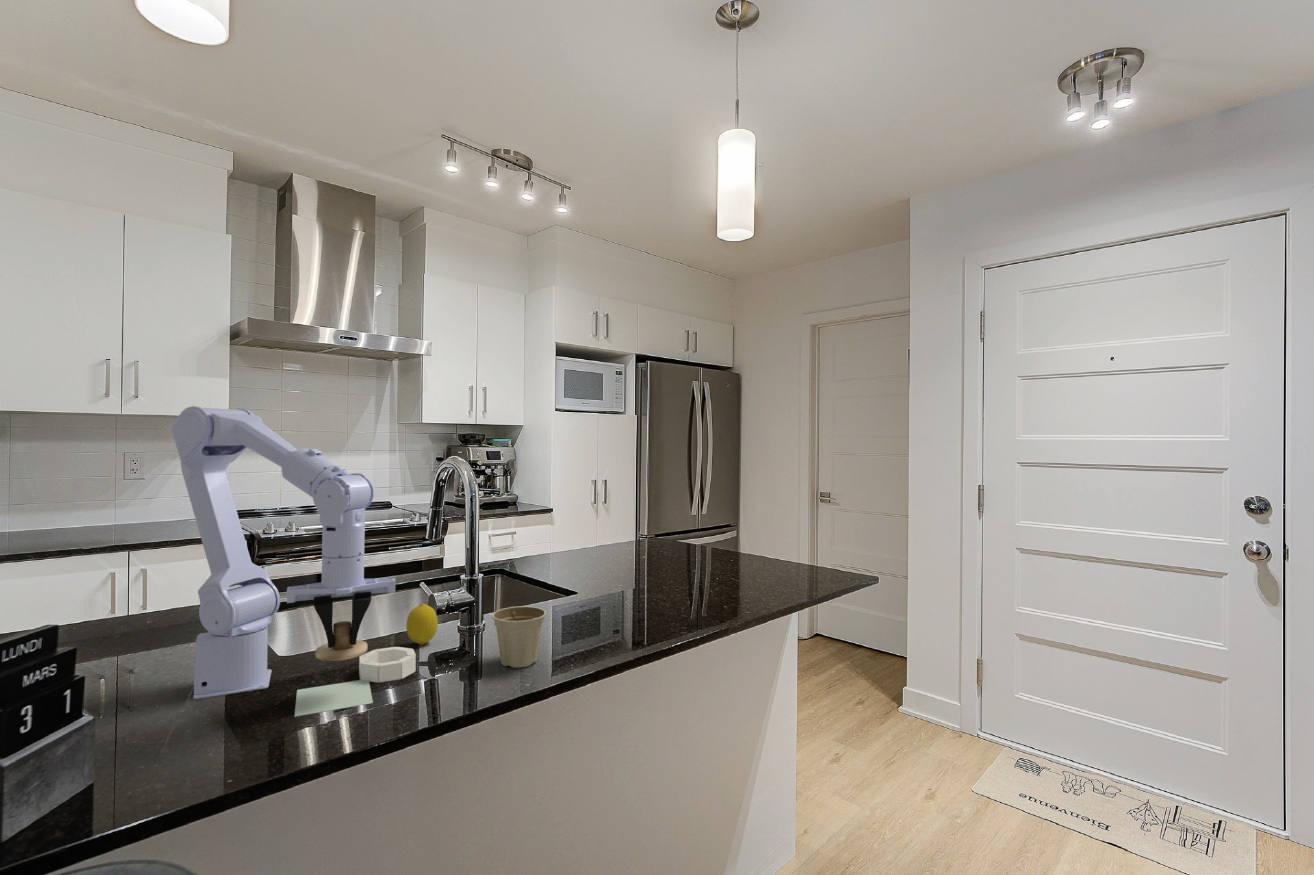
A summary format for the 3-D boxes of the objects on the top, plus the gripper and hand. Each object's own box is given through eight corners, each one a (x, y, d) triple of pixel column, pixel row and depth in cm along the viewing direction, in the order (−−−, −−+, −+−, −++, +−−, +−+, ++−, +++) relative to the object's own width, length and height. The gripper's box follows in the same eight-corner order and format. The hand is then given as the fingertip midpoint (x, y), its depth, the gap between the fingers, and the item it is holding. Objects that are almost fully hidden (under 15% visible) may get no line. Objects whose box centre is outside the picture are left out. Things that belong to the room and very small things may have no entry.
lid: (315, 664, 90) (315, 633, 90) (315, 648, 96) (316, 620, 96) (368, 656, 93) (369, 627, 93) (365, 642, 99) (366, 614, 99)
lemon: (427, 652, 115) (427, 608, 115) (399, 649, 116) (400, 606, 116) (443, 642, 120) (443, 600, 120) (417, 639, 121) (417, 598, 121)
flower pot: (480, 661, 110) (481, 613, 110) (525, 649, 117) (525, 603, 117) (511, 676, 104) (511, 624, 104) (556, 662, 111) (557, 613, 111)
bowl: (361, 687, 98) (361, 668, 98) (358, 669, 106) (358, 651, 106) (417, 678, 102) (417, 660, 102) (411, 661, 110) (411, 644, 110)
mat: (294, 719, 87) (294, 716, 87) (297, 692, 96) (297, 690, 96) (372, 705, 92) (372, 702, 92) (368, 681, 101) (368, 678, 101)
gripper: (286, 563, 87) (284, 660, 88) (397, 555, 94) (396, 645, 94) (288, 554, 94) (287, 644, 94) (393, 547, 101) (391, 632, 101)
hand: (341, 644), depth 94 cm, fingers closed on lid, 2 cm apart
